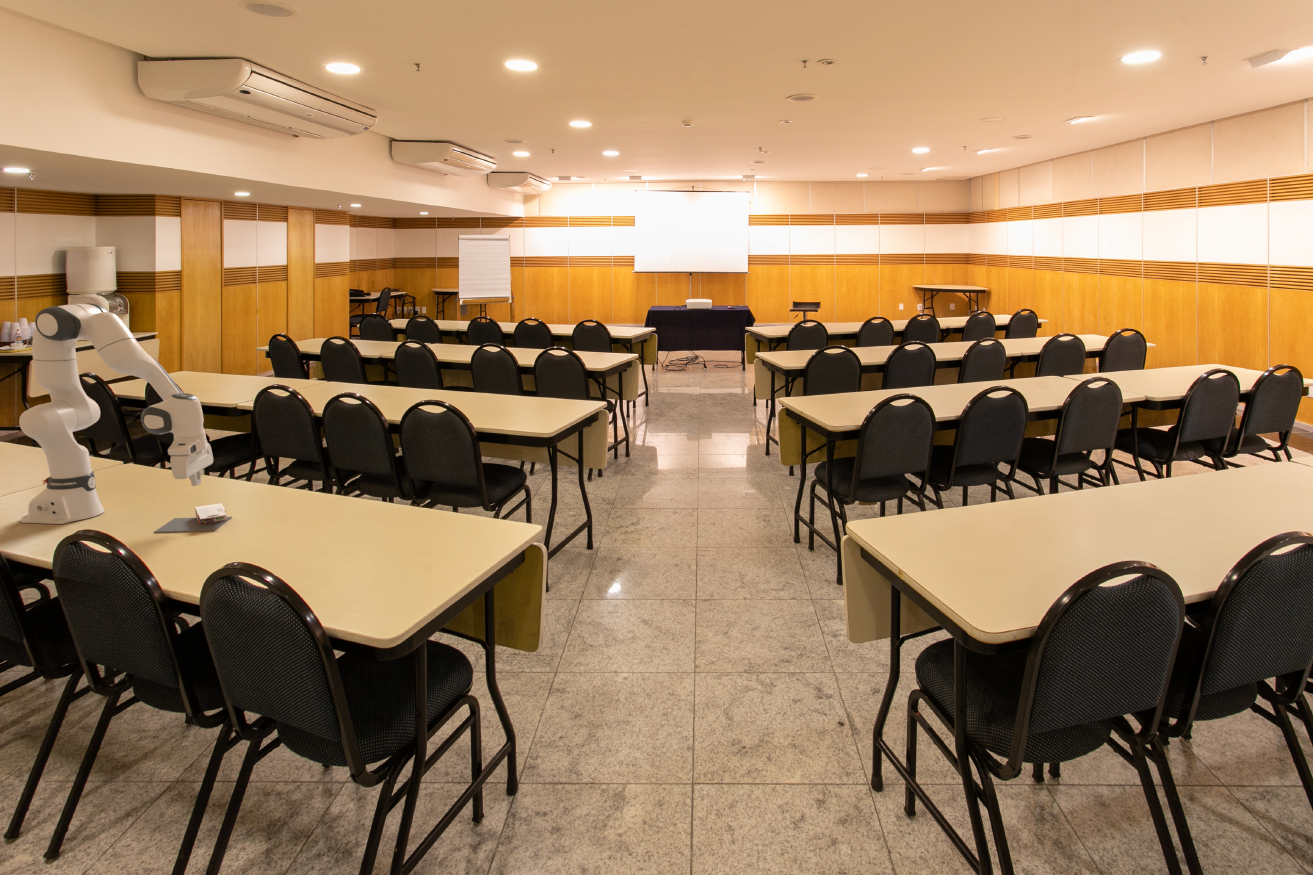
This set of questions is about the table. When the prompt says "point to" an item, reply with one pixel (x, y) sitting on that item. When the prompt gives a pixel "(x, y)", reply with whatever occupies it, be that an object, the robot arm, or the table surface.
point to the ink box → (210, 513)
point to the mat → (189, 525)
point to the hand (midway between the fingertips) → (196, 484)
